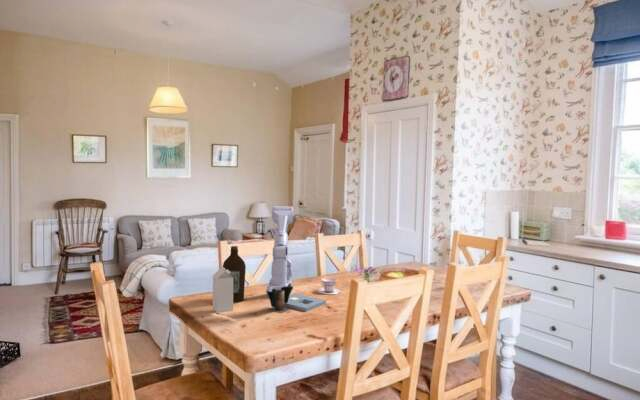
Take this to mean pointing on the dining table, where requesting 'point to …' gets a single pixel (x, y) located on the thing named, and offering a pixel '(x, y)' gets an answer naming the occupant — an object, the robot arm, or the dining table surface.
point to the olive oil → (236, 273)
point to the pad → (279, 311)
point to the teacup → (329, 286)
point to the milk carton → (222, 291)
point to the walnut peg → (280, 300)
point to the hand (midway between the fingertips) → (279, 304)
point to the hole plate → (298, 302)
